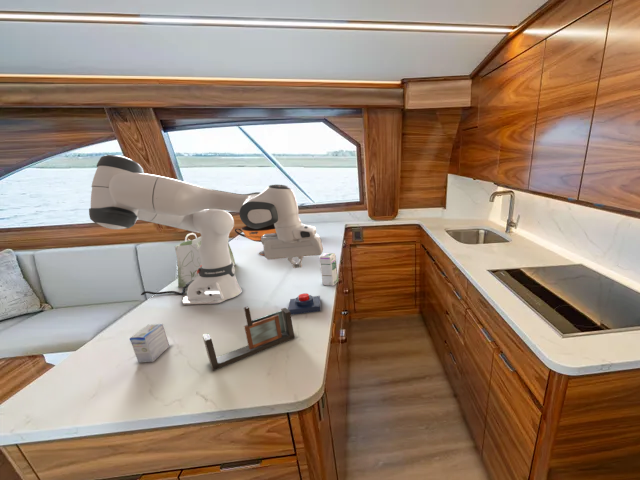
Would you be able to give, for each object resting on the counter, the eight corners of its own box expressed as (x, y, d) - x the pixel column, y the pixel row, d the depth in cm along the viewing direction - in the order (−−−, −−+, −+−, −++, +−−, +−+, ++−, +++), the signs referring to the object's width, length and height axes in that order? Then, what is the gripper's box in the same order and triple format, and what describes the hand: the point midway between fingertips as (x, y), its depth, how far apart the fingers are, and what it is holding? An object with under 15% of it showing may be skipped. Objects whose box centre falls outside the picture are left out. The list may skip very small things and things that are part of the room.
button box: (288, 315, 114) (287, 305, 113) (290, 303, 124) (289, 295, 122) (320, 311, 117) (319, 302, 116) (320, 300, 126) (319, 291, 125)
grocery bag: (212, 264, 172) (202, 225, 164) (236, 264, 173) (228, 224, 165) (176, 287, 142) (163, 240, 134) (207, 285, 143) (194, 239, 135)
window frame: (213, 370, 85) (205, 340, 81) (210, 364, 87) (202, 335, 84) (294, 338, 100) (290, 311, 96) (289, 333, 102) (285, 307, 99)
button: (298, 302, 117) (298, 298, 116) (299, 297, 121) (298, 294, 120) (309, 300, 118) (308, 296, 117) (309, 296, 121) (308, 292, 121)
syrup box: (333, 285, 141) (330, 256, 136) (322, 285, 142) (319, 256, 137) (338, 281, 146) (335, 253, 141) (327, 280, 147) (324, 252, 142)
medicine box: (156, 347, 96) (148, 323, 93) (170, 346, 96) (163, 323, 93) (137, 363, 88) (128, 338, 85) (153, 362, 89) (144, 337, 86)
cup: (301, 247, 205) (298, 221, 199) (288, 258, 181) (284, 230, 175) (249, 247, 205) (245, 222, 199) (230, 259, 181) (223, 231, 175)
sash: (249, 350, 91) (241, 310, 86) (248, 348, 91) (240, 308, 87) (282, 337, 97) (275, 299, 92) (280, 335, 98) (274, 298, 93)
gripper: (256, 237, 101) (266, 273, 106) (317, 232, 102) (324, 268, 108) (262, 231, 106) (271, 266, 112) (320, 226, 108) (326, 261, 113)
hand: (297, 267), depth 110 cm, fingers closed
